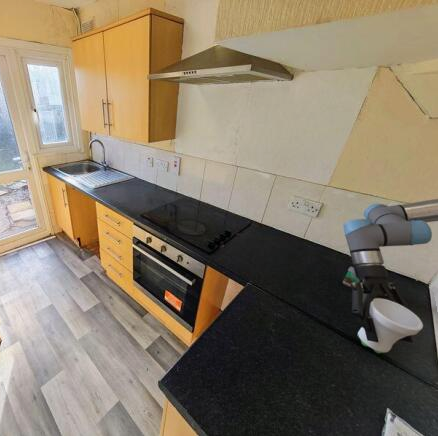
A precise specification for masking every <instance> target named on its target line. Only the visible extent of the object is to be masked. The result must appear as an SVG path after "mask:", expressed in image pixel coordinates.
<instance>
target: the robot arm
mask: <svg viewBox="0 0 438 436" xmlns="http://www.w3.org/2000/svg"><path fill="white" fill-rule="evenodd" d="M363 216H364V218H355V219H351V220H347V221H346V222H345V223H344V224H343V230H344V237H345V239H346V242H347V243H346V244H347V248H348V250H349V255H350V258H351V262H352V265H353V266H354V271H355V274H356V277H357V278H359V282H355V283H350V285H351V288H350V289H351V314H352V315H354V316H356V317H357V318H359V320H360V323H361V328H362V327H363V329H365V333H366V337H367V340H368V341H373V342H379V341H378V337H377V334H376V330H375V326H374V322H373V319H372V318H369V315H370V313H369V311H370V304H371V302H372V301H373V299H375V298H377V296H378V298H381V299H386V300H390V301H392V302H395V303H398V304H400V305H402V306H404V307H405V308H407V309H409V310H410V311H411V312H412V310H411V309H410V306H409V305H408V303H407V301H406V300H405V297H404V296H403V294H402V292H401V291H400V287H399V284H398V283H397V282H388V280H387V278H388V277H389V275H388V271H387V268H386V266H384V264H385V262H384V258H383V257H384V256H383V254H382V251H381V248H382V247H402V246H416V245H425V244H428V243H430V241H431V240H432V236H433V232H432V228H431V226H430V225H429V223H433V222H438V198H434V199H426V200H421V201H415V202H407V203H401V204H396V205H395V204H394V205H389V206H388V205H386V204H384V203H374V204H370V205H369V206H368V207H367V208H366V209H365V210H364V211H363ZM380 247H381V248H380ZM399 341H401V342H407V343H413V338H412V335H409V336H406V337H404V338H401V339H399Z"/></svg>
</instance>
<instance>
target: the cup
mask: <svg viewBox="0 0 438 436" xmlns="http://www.w3.org/2000/svg"><path fill="white" fill-rule="evenodd" d="M410 310H411V309H410ZM410 310H409V309H407V308H405V307H404V306H402V305H400V304H398V303H395V302H392V301H390V300H386V299H382V298H380V297H375V298H373V301H372V302H371V304H370V311H369V313H370V315H369V318H372V319H373V322H374V326H375V330H376V334H377V337H378V341H379V342H373V341H368V340H367V337H366V333H365V329H363V327H362V326H361V327H360V329H359V330H358V331H357V337H358V338H359V340H360V342H361V345H362V346H364V347H368V348H370V349H372V350H373V351H374V352H375V353H377V354H384V353H389V352H390V350H391V349H392V348H393V345H394V344H395V343H396V342H398V341H400V339H401V338H404V337H406V336H409V335H411V336H415V335H417V334H418V333H419V332H420V331H422V330H423V327H424V323H423V322H422V319H420V317H419V316H418V315H417V314H415V312H413V311H412V310H411V311H410Z"/></svg>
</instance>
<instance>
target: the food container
mask: <svg viewBox="0 0 438 436" xmlns="http://www.w3.org/2000/svg"><path fill="white" fill-rule="evenodd" d="M354 267H355V266H354ZM354 267H353V266H350V267H349V268H347V272H346V274H345V276H344V278H343V281H342V282H341V284H342V285H344V286H346V287H348V288H350V289H351V285H350V283H355V282H359V278H357V277H356V274H355V271H354Z"/></svg>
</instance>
